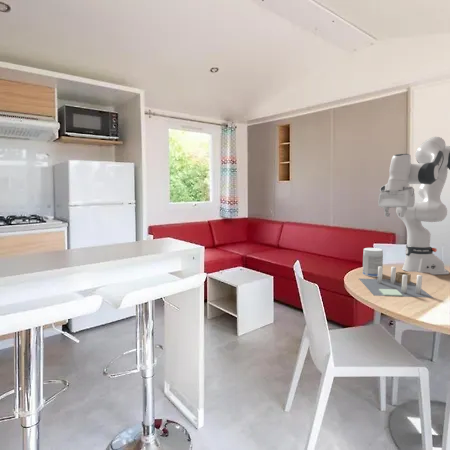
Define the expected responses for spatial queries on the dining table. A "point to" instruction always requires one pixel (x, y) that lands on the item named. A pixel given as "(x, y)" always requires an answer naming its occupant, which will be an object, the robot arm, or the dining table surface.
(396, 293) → the pad
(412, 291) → the board
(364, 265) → the supplement tub
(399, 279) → the ring
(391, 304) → the dining table surface
